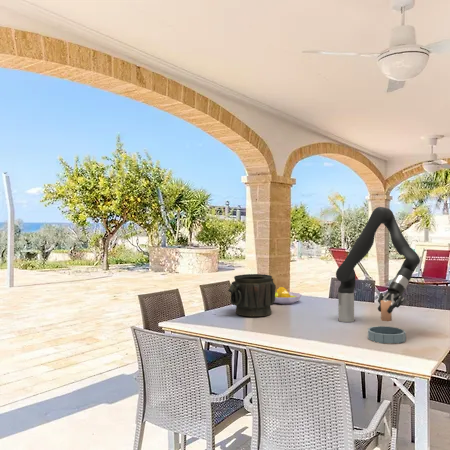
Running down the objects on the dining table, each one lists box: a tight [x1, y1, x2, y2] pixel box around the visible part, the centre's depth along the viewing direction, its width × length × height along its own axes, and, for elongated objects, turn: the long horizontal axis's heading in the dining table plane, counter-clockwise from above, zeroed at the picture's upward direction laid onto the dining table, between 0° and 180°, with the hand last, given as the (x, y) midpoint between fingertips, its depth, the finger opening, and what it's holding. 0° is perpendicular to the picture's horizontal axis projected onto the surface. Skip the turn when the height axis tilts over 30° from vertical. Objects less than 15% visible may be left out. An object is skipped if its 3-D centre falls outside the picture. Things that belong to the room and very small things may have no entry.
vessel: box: [227, 273, 277, 317], centre depth 300 cm, size 31×32×25 cm
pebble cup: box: [380, 300, 393, 322], centre depth 233 cm, size 5×5×10 cm
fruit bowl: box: [273, 286, 302, 305], centre depth 340 cm, size 28×27×11 cm
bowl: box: [367, 325, 407, 344], centre depth 233 cm, size 18×18×4 cm
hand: (383, 311), depth 232 cm, fingers closed on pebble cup, 5 cm apart
